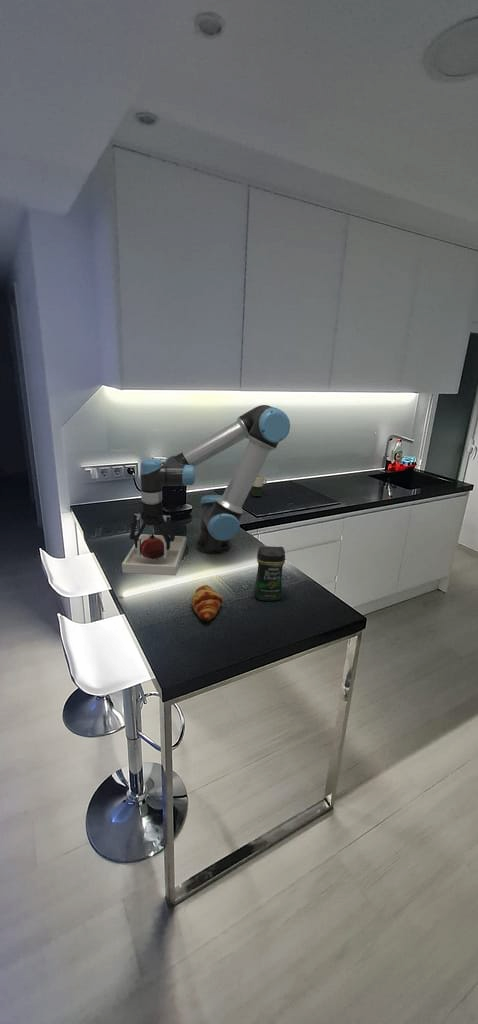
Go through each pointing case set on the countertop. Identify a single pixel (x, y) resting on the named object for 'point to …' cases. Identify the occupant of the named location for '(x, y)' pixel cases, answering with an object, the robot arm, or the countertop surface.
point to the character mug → (258, 485)
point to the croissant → (206, 602)
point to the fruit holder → (151, 565)
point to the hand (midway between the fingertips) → (152, 556)
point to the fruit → (152, 548)
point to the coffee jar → (269, 573)
